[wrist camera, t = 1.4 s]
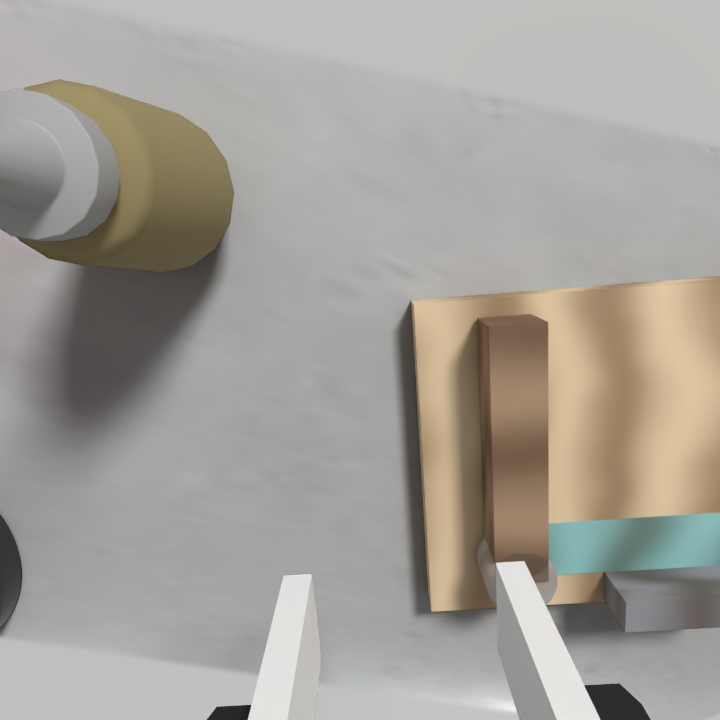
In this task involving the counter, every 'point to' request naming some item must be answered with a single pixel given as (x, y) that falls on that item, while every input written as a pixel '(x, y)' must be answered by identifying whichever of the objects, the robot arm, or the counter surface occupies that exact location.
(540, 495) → the hinged leg
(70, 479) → the counter surface
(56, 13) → the counter surface
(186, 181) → the squeeze bottle
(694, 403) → the wooden flat board
